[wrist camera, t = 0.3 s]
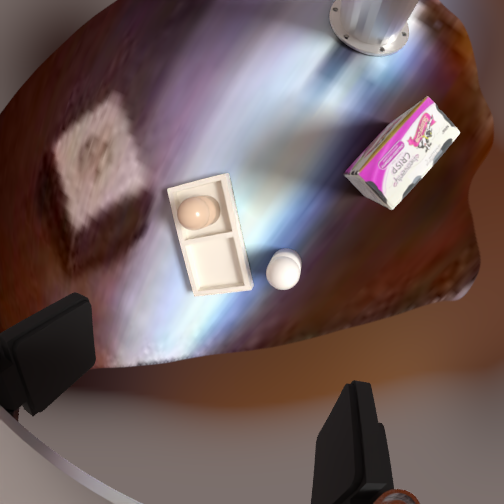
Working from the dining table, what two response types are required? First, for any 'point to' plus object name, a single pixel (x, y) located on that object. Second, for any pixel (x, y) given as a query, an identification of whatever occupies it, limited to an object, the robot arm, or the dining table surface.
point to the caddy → (213, 240)
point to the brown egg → (198, 212)
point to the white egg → (284, 269)
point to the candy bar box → (402, 154)
